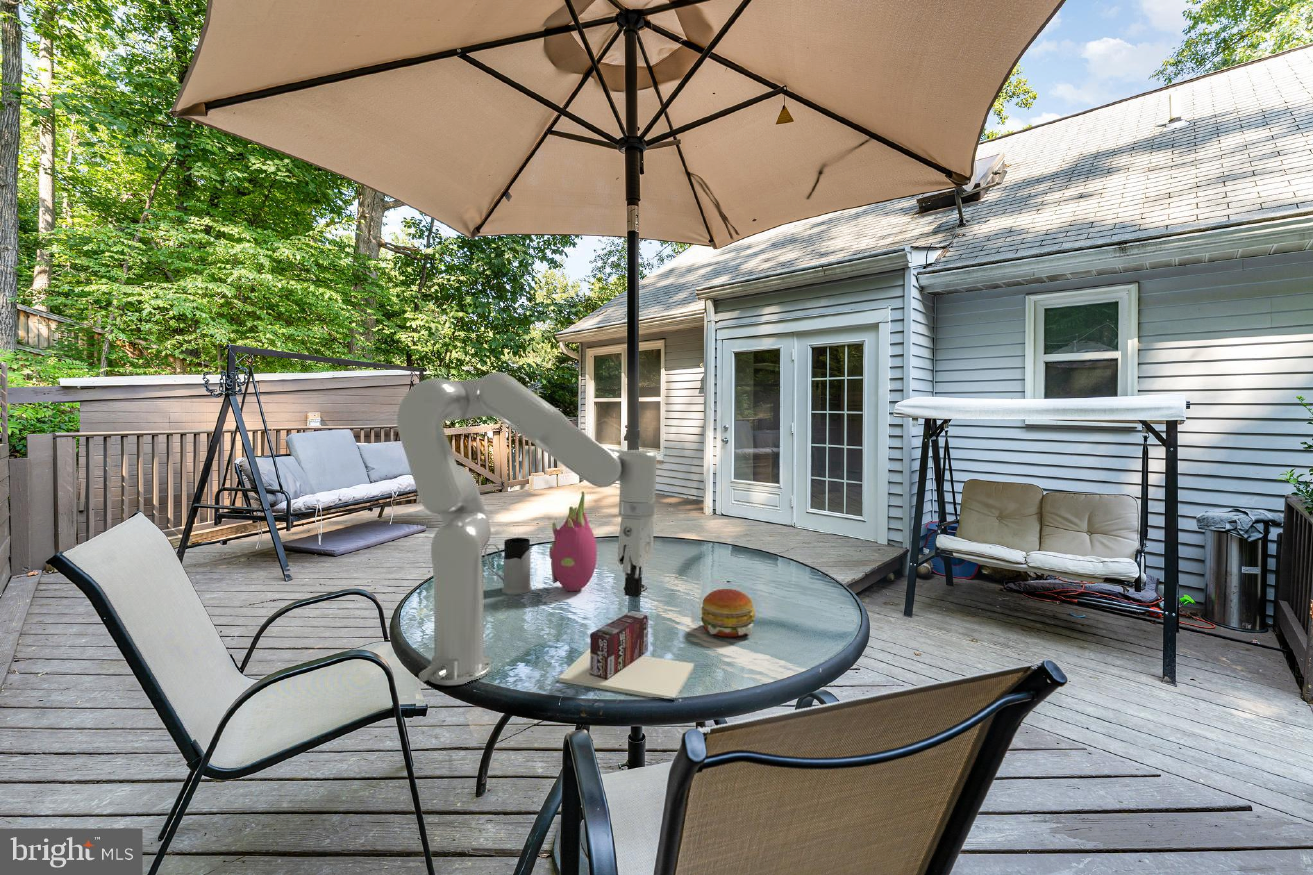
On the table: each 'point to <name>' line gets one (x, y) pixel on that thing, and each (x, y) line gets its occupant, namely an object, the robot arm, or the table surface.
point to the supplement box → (618, 644)
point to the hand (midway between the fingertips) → (632, 595)
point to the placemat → (634, 676)
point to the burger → (728, 613)
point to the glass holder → (515, 565)
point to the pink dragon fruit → (573, 550)
